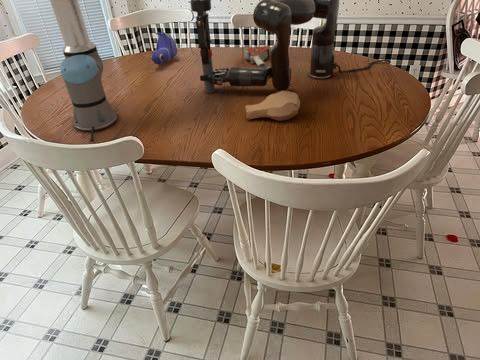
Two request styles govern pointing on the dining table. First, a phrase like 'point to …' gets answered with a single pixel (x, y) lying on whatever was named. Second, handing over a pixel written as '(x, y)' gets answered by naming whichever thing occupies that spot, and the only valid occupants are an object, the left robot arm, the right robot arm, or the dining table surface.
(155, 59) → the toy
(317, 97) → the dining table surface
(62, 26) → the left robot arm
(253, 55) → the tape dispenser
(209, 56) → the lid
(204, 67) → the dark grey piece
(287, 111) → the squash
